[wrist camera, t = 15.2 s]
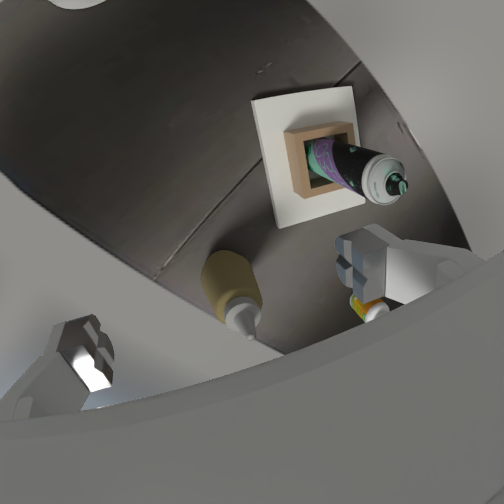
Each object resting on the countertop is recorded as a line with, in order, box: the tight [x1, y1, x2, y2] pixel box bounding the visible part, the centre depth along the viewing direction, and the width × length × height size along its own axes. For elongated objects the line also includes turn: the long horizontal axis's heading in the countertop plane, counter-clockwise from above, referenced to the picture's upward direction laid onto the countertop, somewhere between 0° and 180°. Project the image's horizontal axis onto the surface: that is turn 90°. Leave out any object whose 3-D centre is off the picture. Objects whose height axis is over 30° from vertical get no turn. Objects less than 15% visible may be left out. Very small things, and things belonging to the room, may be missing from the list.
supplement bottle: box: [350, 294, 389, 323], centre depth 59 cm, size 5×5×10 cm
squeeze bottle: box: [200, 250, 263, 341], centre depth 44 cm, size 8×8×18 cm
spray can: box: [304, 137, 408, 205], centre depth 38 cm, size 6×6×20 cm
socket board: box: [251, 86, 365, 229], centre depth 45 cm, size 20×16×6 cm
